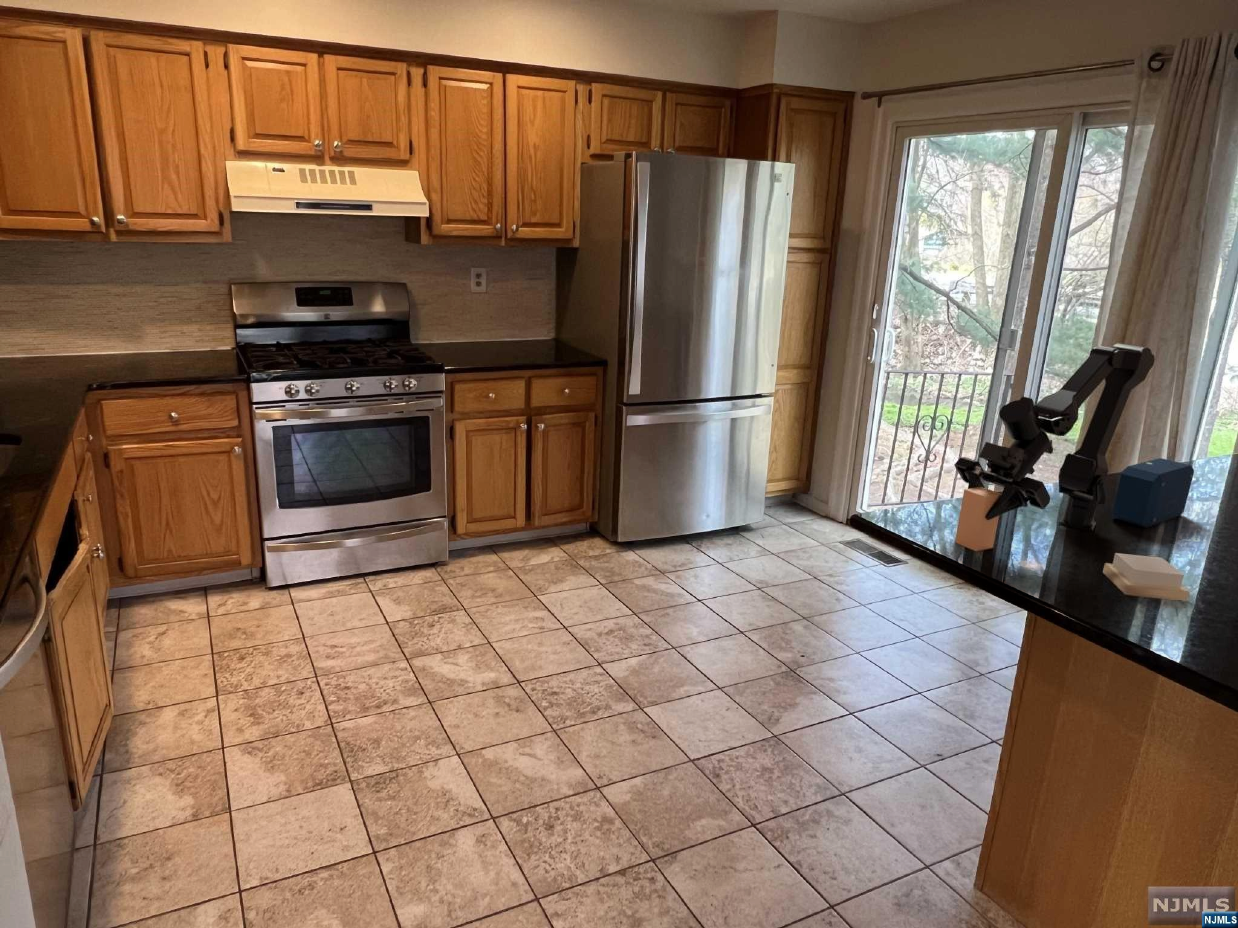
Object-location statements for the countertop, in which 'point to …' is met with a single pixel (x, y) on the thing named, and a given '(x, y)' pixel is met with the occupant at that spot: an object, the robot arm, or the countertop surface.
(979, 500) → the pillar block
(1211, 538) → the countertop surface
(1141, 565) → the tower top
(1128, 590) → the tower base
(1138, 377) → the robot arm
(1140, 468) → the navy rounded box
